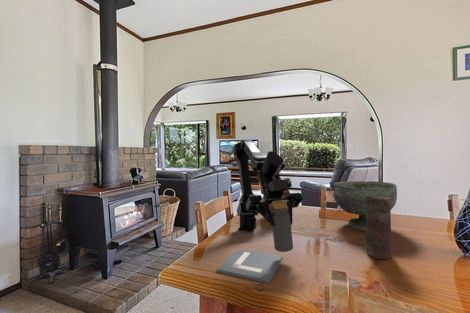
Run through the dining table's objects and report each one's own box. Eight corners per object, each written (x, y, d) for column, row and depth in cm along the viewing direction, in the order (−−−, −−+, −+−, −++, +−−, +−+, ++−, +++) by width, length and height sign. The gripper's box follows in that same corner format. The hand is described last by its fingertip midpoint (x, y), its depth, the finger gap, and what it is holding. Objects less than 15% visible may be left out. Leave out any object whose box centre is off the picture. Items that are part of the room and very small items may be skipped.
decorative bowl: (408, 239, 93) (406, 187, 93) (336, 233, 101) (335, 186, 102) (388, 221, 118) (387, 181, 118) (332, 218, 126) (331, 180, 127)
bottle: (295, 245, 78) (290, 199, 77) (289, 253, 73) (284, 204, 72) (278, 242, 81) (273, 199, 80) (271, 250, 76) (266, 204, 75)
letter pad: (216, 271, 71) (216, 268, 71) (237, 250, 86) (237, 248, 86) (269, 283, 65) (269, 280, 65) (282, 258, 79) (282, 255, 79)
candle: (360, 250, 85) (361, 193, 84) (380, 249, 86) (381, 193, 85) (375, 260, 77) (376, 198, 77) (396, 259, 78) (397, 197, 77)
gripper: (248, 170, 77) (261, 214, 67) (300, 168, 82) (320, 209, 72) (241, 190, 85) (252, 232, 75) (289, 187, 90) (305, 226, 80)
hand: (282, 225), depth 75 cm, fingers closed on bottle, 6 cm apart
